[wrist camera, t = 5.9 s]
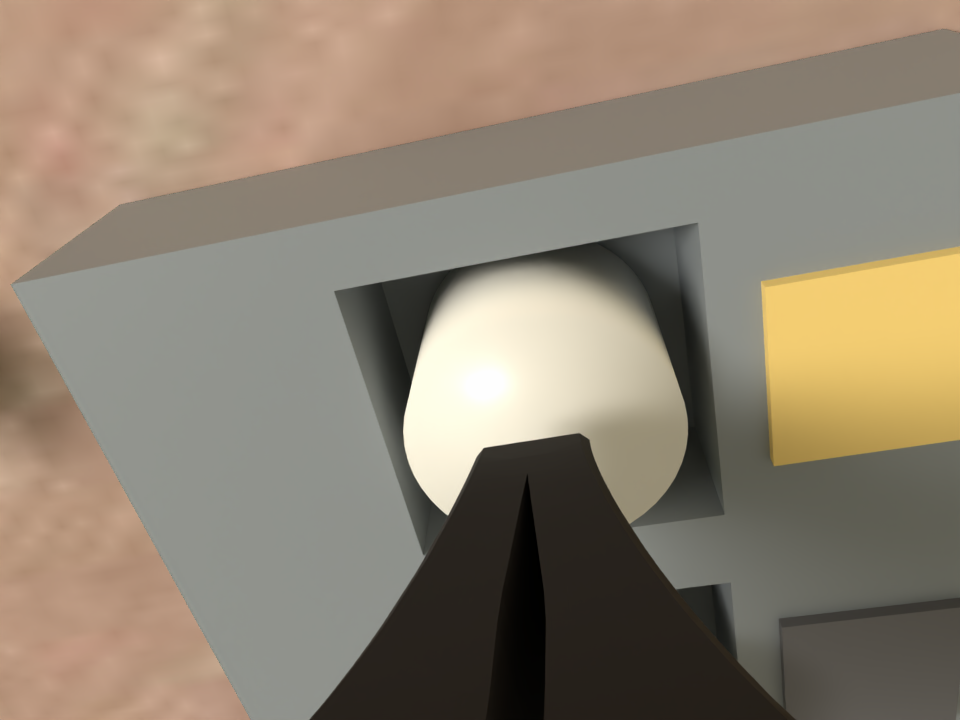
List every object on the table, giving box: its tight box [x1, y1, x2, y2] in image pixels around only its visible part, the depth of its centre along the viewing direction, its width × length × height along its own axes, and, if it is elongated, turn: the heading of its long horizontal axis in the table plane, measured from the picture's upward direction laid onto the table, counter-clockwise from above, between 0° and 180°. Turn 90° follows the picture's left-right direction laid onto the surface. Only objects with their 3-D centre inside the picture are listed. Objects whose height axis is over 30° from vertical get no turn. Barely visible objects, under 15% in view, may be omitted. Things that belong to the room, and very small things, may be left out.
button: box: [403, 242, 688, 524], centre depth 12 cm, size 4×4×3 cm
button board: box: [11, 29, 960, 720], centre depth 16 cm, size 20×14×4 cm
